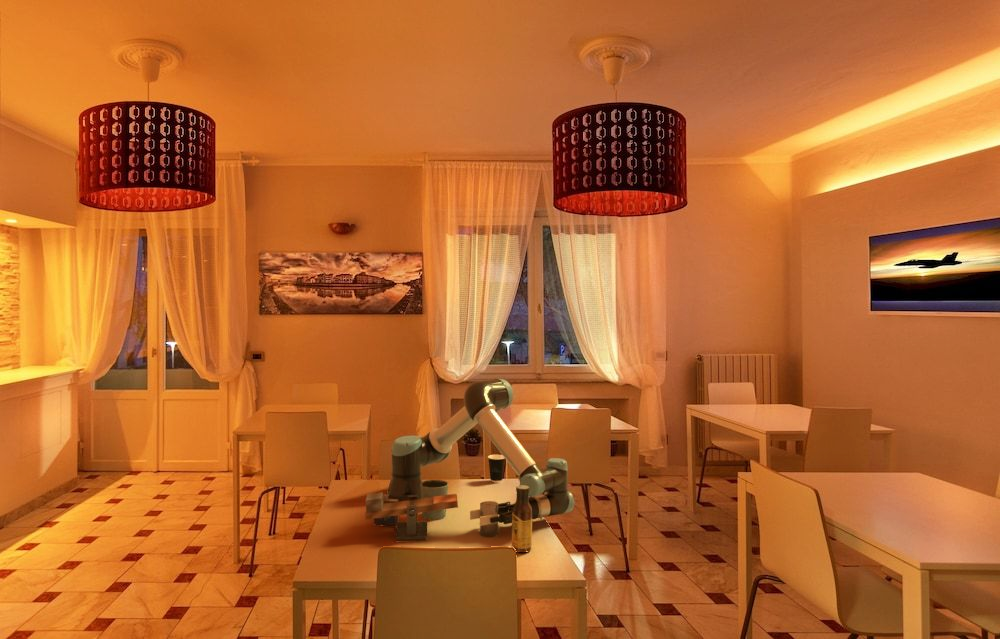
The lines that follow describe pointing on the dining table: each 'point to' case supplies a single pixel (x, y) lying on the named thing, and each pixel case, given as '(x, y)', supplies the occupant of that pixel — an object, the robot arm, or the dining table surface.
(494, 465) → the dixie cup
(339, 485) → the dining table surface
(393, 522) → the flask
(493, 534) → the glass jar
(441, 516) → the grey cylindrical container
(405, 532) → the beam stand
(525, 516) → the sauce bottle
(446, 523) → the dining table surface
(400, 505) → the beam
